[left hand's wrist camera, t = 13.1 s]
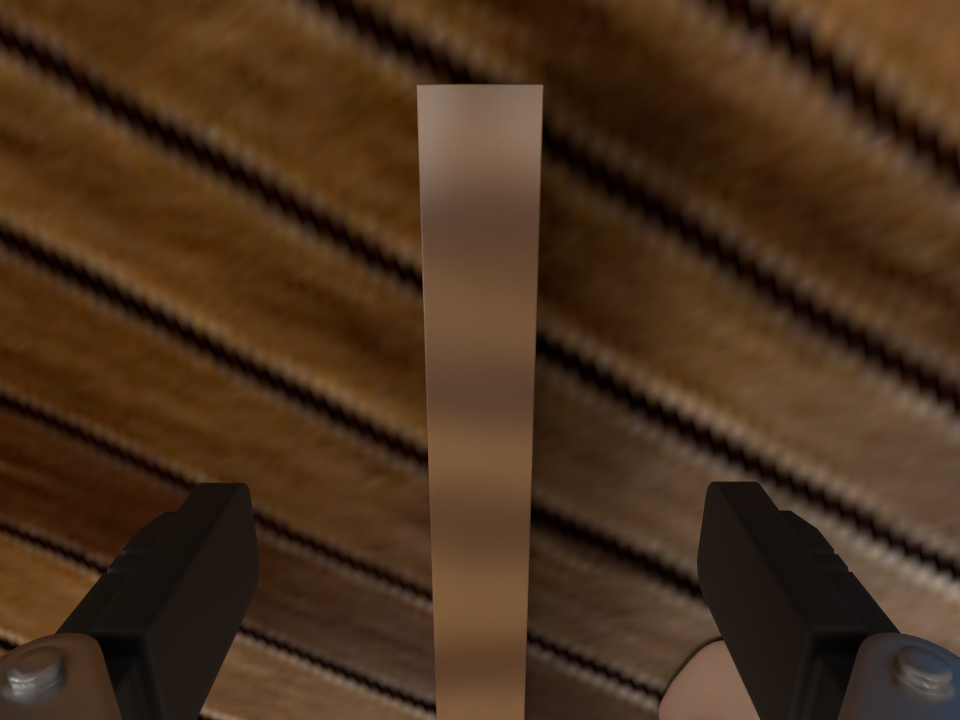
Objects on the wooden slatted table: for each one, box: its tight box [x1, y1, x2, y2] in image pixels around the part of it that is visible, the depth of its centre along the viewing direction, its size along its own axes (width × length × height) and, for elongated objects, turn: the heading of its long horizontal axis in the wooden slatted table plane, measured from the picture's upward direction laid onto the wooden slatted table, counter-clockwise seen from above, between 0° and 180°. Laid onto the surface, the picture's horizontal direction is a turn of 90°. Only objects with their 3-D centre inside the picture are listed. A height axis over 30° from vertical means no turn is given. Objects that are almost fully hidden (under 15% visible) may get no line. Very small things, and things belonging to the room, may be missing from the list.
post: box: [417, 84, 544, 720], centre depth 37 cm, size 54×5×6 cm, turn 0°
